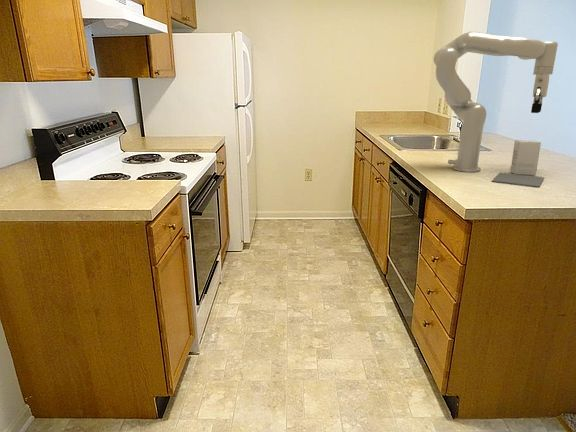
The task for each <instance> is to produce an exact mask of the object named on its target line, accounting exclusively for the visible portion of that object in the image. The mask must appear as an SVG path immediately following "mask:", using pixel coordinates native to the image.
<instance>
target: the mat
mask: <svg viewBox="0 0 576 432" xmlns="http://www.w3.org/2000/svg"><path fill="white" fill-rule="evenodd" d="M544 179H545V177H543V176H536V175H524V174H514V173H507V172H499V173H497V175H496V176H495V177H494V178H493V179H492V180H491V182H492V183H497V184H505V185H514V186H522V187H523V186H524V187H532V188H541V185H542V184H543V182H544Z"/></svg>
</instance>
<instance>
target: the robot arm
mask: <svg viewBox="0 0 576 432" xmlns="http://www.w3.org/2000/svg"><path fill="white" fill-rule="evenodd" d="M558 45H559V44H558V42H556V41H552V40H551V41H541V40H539V39H533V38H526V37H518V36H508V35H500V34H493V33H485V32H480V31H479V32H478V31H469V32H465V33H462V34H461V35H459V36H458V37H456V38H454V39H452V41H450V42H449V43H447V44H446V45H444V46H443V47H441V48H440V49H438V50H437V51H436V52H435V54H434V56H433V63H434V64H435V66H436V67H435V77H436V80H437V82H438V84H439V86H440V87H441V89H442V90H443V92H444V99H445V100H444V101H445V102H446V103H447V105H448V106H449V108H450V109H451V110H452V111H453V113H454V114H455V115H456V117H457V118H458V119H459V120H460V121H462V124H461V129H460V133H459V142H458V150H457V157H456V158H457V159H455V160H454V159H448V160H447V164H449V165H453V166H452V169H453V170H455V171H459V172H465V173H477V172H480V171H481V169H482V168H481V167H480V166H479V158H480V157H479V156H480V151H481V145H482V137H483V130H484V125H485V122H486V118H487V110H486V107H485V106H484V105H483V104H481V103H478V102H474V101H473V100H472V92H471V90H470V88H468V87H467V85H466V84H465V83H464V81H463V80H462V79H461V77H460V76H459V75H458V73H457V71H456V66H457V61H458V60H459V59H460V58H462V56H464V55H465V54H467V53H472V54H478V55H479V54H480V55H487V56H493V57H506V56H509V57H512V56H513V57H518V59H520V60H522V61H523V60H524V61H525V60H526V61H527V60H534V61H535V62H534V66H533V67H534V68H533V73H532V74H533V75H535V79H534V83H533V88H532V89H533V90H532V97H533V101H532V105H531V111H530V113H532V114H539V113H541V112H542V107H543V106H542V105H543V98H546V97H547V94H548V89H549V84H550V75H553V73H554V72H553V71H554V67H555V61H556V57H557V51H558Z"/></svg>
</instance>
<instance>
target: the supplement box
mask: <svg viewBox="0 0 576 432" xmlns="http://www.w3.org/2000/svg"><path fill="white" fill-rule="evenodd" d="M541 145H542V142H541V141H538V140H517V139H516V140H514V144H513V151H512V158H511V165H510V171H509V172H511V174H518V175H528V176H536V175H537V171H538V165H539V158H540V150H541Z"/></svg>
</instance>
